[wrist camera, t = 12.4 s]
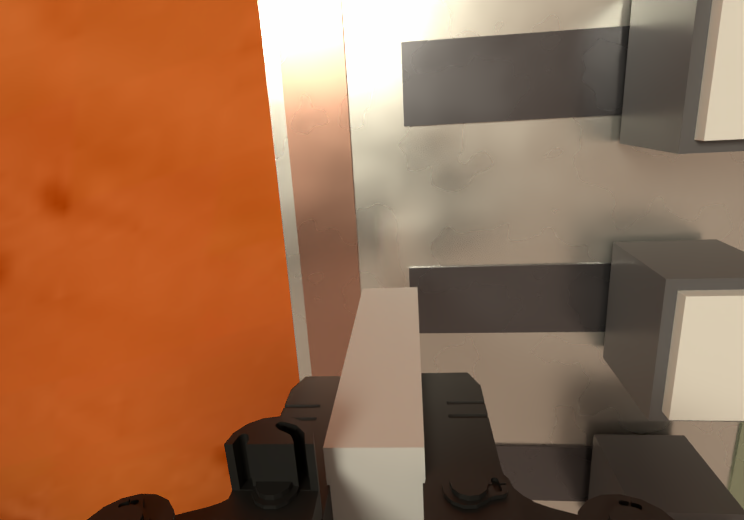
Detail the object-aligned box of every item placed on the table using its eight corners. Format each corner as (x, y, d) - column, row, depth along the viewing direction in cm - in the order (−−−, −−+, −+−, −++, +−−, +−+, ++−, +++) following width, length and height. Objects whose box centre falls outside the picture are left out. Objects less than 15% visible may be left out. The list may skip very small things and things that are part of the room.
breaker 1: (619, 143, 14) (687, 155, 11) (632, -9, 13) (714, -53, 10) (729, 138, 14) (838, 149, 10) (752, -18, 13) (884, -68, 9)
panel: (324, 518, 22) (317, 549, 21) (267, -38, 16) (250, -53, 14) (759, 533, 20) (786, 567, 19) (895, -96, 14) (953, -121, 12)
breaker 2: (603, 357, 17) (655, 430, 13) (613, 241, 15) (674, 285, 12) (698, 357, 16) (780, 431, 12) (716, 239, 15) (813, 282, 11)
